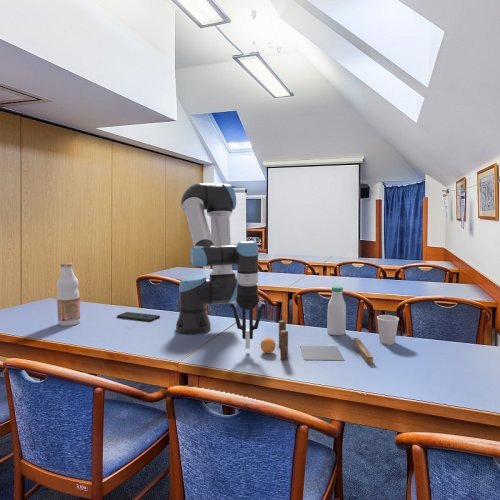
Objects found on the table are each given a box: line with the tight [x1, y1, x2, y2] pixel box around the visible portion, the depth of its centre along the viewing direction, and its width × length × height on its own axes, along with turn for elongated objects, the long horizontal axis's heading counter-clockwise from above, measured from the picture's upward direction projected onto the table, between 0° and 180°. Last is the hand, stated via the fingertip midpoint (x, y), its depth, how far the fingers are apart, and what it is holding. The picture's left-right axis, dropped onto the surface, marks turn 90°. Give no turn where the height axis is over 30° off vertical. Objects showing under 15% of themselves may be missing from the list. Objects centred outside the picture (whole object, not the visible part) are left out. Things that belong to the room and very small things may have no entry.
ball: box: [260, 337, 276, 354], centre depth 144 cm, size 6×6×6 cm
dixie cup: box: [376, 314, 400, 346], centre depth 155 cm, size 8×8×10 cm
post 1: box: [278, 320, 287, 349], centre depth 150 cm, size 3×3×10 cm
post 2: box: [279, 329, 289, 361], centre depth 137 cm, size 3×3×10 cm
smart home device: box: [116, 311, 161, 323], centre depth 192 cm, size 8×2×20 cm
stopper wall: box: [352, 337, 374, 365], centre depth 143 cm, size 2×20×2 cm, turn 178°
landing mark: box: [299, 345, 346, 362], centre depth 144 cm, size 14×14×1 cm
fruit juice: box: [56, 262, 81, 327], centre depth 180 cm, size 9×9×28 cm
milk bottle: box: [326, 285, 347, 336], centre depth 166 cm, size 8×8×20 cm
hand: (247, 347), depth 144 cm, fingers closed
